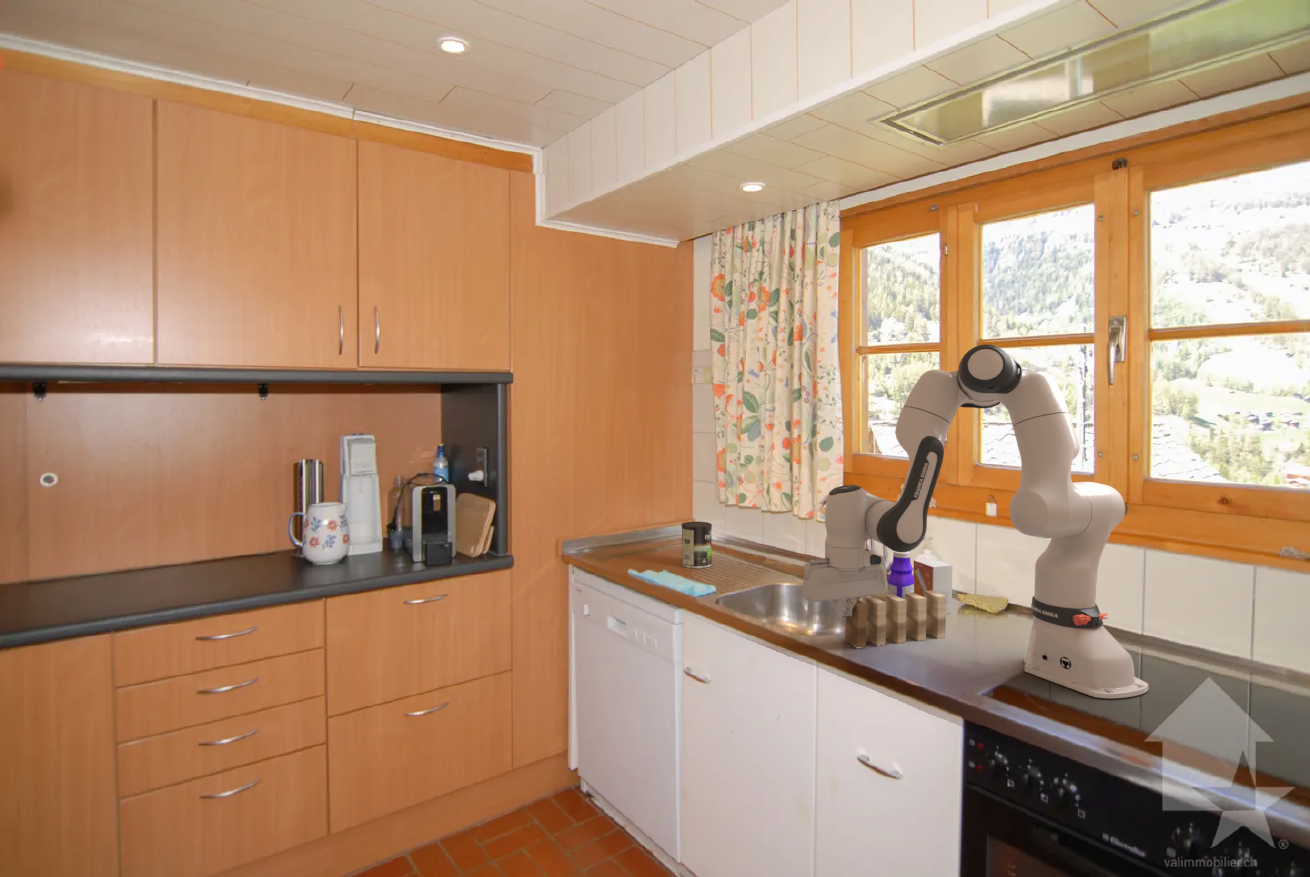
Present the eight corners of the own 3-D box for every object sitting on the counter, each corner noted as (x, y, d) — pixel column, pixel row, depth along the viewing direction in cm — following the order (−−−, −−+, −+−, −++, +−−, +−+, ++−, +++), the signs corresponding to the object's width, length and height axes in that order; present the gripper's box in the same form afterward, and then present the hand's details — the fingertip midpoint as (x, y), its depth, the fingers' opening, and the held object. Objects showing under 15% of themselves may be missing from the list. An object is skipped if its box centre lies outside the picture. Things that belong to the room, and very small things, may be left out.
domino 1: (865, 648, 158) (867, 604, 158) (856, 648, 157) (858, 605, 157) (853, 640, 163) (854, 598, 162) (844, 641, 162) (846, 599, 162)
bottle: (896, 612, 183) (897, 547, 182) (917, 617, 179) (918, 550, 178) (883, 618, 178) (884, 552, 177) (904, 623, 174) (905, 555, 173)
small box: (911, 607, 188) (912, 559, 187) (931, 604, 190) (932, 557, 189) (932, 616, 180) (933, 566, 180) (952, 613, 182) (953, 564, 181)
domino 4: (925, 640, 163) (926, 598, 162) (917, 641, 162) (918, 599, 162) (912, 633, 168) (912, 592, 167) (904, 634, 167) (904, 593, 166)
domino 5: (945, 637, 164) (946, 596, 164) (937, 638, 164) (938, 597, 163) (931, 630, 169) (931, 590, 169) (923, 631, 169) (924, 591, 168)
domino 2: (885, 645, 160) (886, 602, 159) (877, 646, 159) (877, 603, 158) (872, 638, 164) (873, 596, 164) (864, 639, 164) (865, 597, 163)
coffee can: (715, 562, 240) (715, 522, 239) (707, 569, 230) (707, 527, 229) (686, 560, 243) (686, 520, 242) (677, 567, 233) (677, 525, 233)
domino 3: (905, 642, 161) (906, 600, 161) (897, 643, 161) (898, 601, 160) (892, 635, 166) (893, 594, 165) (884, 636, 165) (885, 595, 165)
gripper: (811, 563, 152) (811, 625, 152) (891, 556, 158) (890, 616, 158) (797, 557, 158) (796, 617, 158) (874, 550, 164) (874, 608, 164)
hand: (844, 616), depth 159 cm, fingers closed
